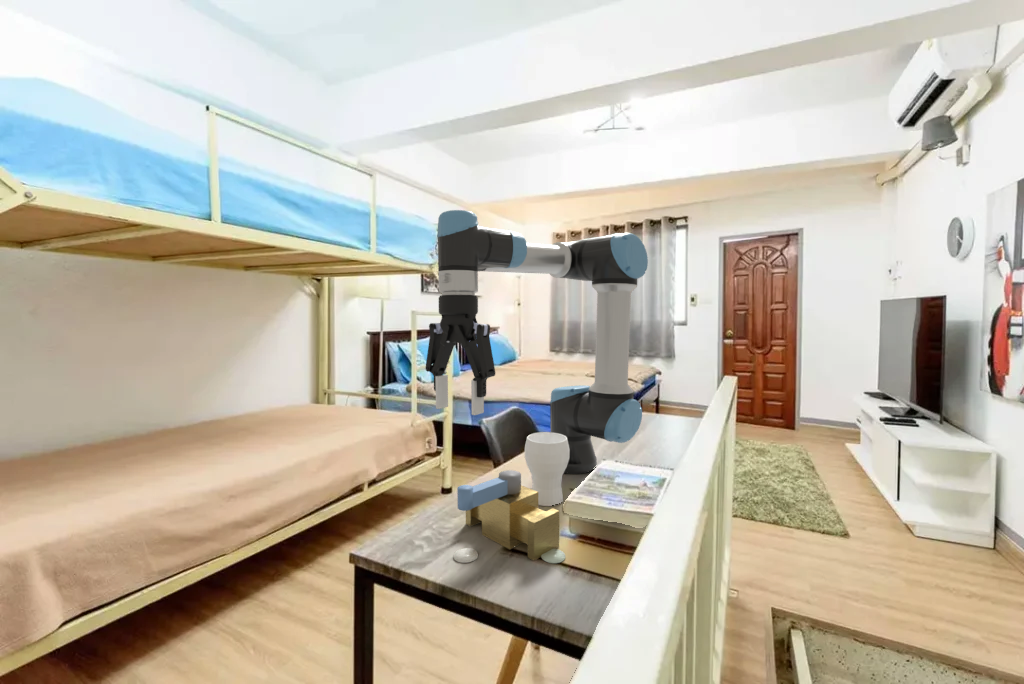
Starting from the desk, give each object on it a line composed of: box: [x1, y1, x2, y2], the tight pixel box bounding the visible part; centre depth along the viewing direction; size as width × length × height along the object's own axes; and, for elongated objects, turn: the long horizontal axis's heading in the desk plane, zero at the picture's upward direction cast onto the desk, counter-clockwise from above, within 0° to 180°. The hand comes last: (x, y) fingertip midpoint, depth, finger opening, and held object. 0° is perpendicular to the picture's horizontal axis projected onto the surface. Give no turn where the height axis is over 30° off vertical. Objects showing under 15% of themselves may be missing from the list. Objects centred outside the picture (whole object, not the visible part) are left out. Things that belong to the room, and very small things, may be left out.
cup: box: [524, 431, 570, 507], centre depth 106 cm, size 11×11×15 cm
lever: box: [456, 469, 522, 512], centre depth 85 cm, size 15×4×4 cm, turn 134°
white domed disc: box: [453, 547, 479, 564], centre depth 82 cm, size 4×4×1 cm
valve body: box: [465, 484, 560, 562], centre depth 89 cm, size 20×8×9 cm, turn 44°
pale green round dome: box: [540, 548, 566, 564], centre depth 82 cm, size 4×4×1 cm
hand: (459, 410), depth 87 cm, fingers open, 9 cm apart
